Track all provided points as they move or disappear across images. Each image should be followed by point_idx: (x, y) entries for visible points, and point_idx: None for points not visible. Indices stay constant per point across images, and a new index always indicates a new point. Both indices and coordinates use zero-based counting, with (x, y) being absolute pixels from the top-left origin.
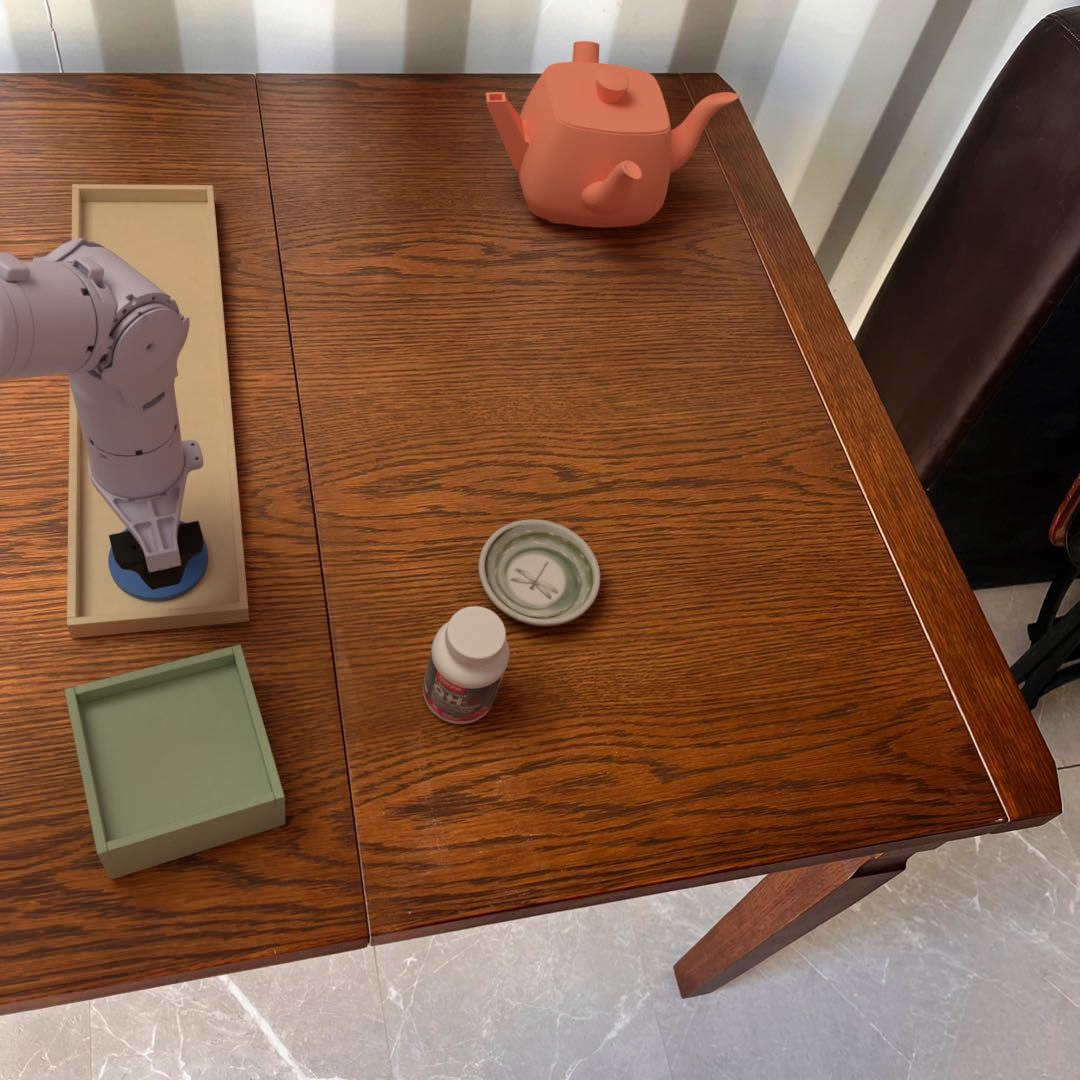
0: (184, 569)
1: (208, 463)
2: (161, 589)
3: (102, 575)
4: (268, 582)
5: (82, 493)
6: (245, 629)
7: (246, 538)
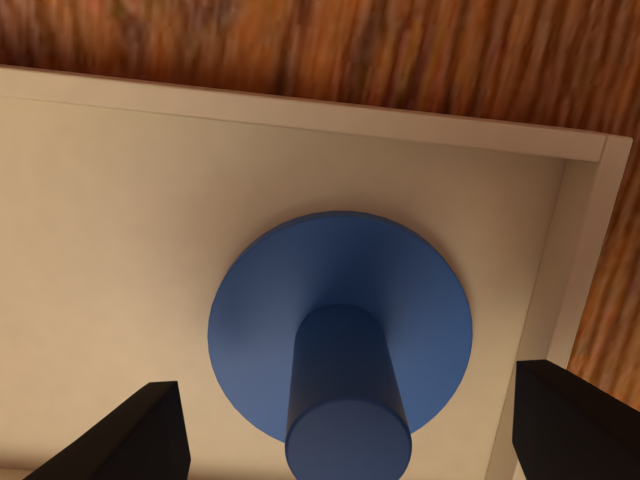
0: (625, 405)
1: (6, 155)
2: (447, 351)
3: None
4: (473, 46)
5: None
6: None
7: (299, 84)
